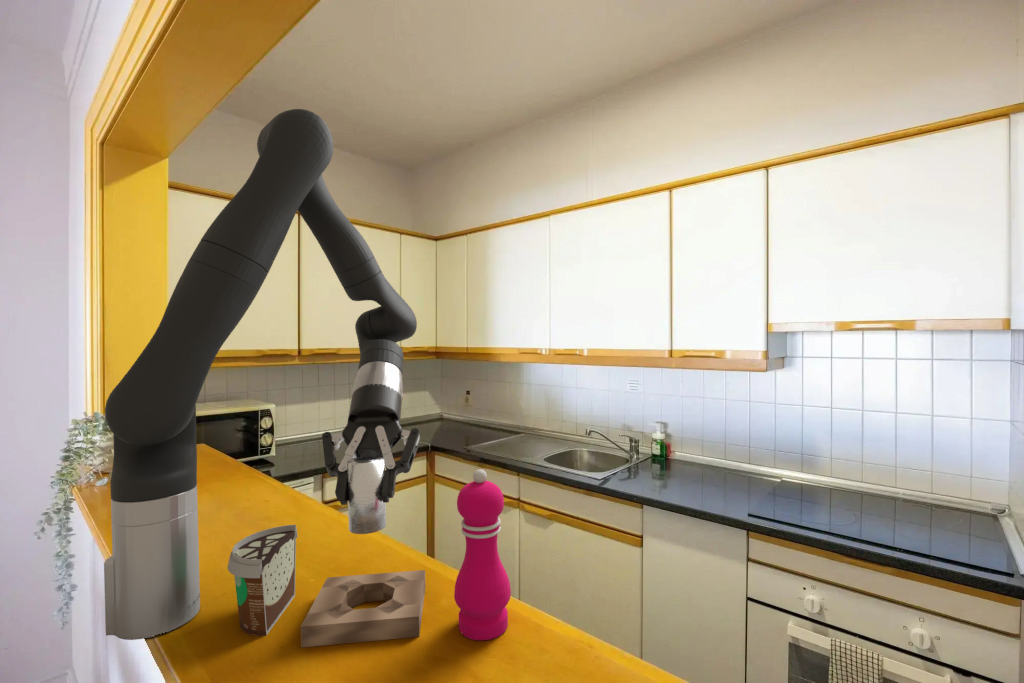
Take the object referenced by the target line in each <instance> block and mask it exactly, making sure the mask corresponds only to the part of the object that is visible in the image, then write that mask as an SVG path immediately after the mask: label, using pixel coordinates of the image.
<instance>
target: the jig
mask: <svg viewBox="0 0 1024 683" xmlns="http://www.w3.org/2000/svg"><path fill="white" fill-rule="evenodd" d="M425 594H426V570H425V569H422V570H421V569H420V570H409V571H408V570H406V571H396V572H395V571H394V572H382V573H381V572H380V573H367V574H358V575H357V574H356V575H343V576H342V575H341V576H330V577H326V580H325V581H324V582H323V584H322V587H321V588H320V590H319V591H318V594H317V596H316V598H315V600H314V601H313V603H312V604H311V607H310V609H309V610H308V612H307V614H306V616H305V618H304V620H303V622H302V623H301V625H300V648H311V647H320V646H321V647H322V646H330V645H341V644H342V645H343V644H354V643H365V642H375V641H386V640H387V641H388V640H395V639H397V640H398V639H405V638H407V639H408V638H420V633H421V624H422V618H423V617H422V616H423V611H424V610H423V609H424V601H425V600H424V599H425ZM378 601H379V602H380V601H384V603H382V604H380V605H378V606H376V607H368V608H357V609H356V608H355V607H357V606H358V605H361V604H363V603H364V602H365V603H366V602H378ZM354 608H355V609H354Z"/></svg>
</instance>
